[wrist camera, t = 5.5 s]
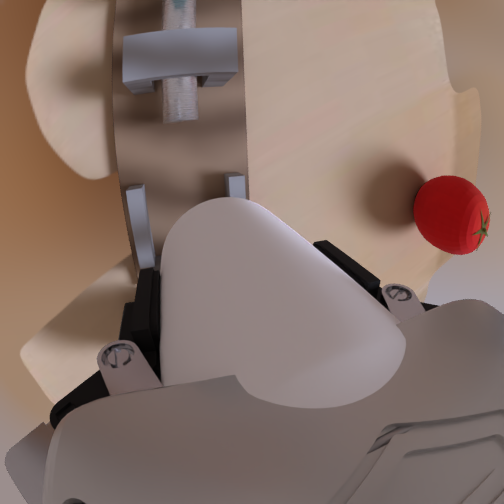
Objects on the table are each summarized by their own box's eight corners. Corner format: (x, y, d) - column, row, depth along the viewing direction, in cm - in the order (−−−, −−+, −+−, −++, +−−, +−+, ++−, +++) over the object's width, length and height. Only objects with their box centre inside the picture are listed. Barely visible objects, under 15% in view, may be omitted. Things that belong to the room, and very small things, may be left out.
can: (177, 320, 15) (220, 543, 4) (148, 208, 12) (107, 502, 2) (286, 295, 16) (411, 469, 6) (280, 185, 14) (515, 329, 3)
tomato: (388, 211, 36) (456, 245, 25) (421, 154, 34) (490, 172, 23) (419, 246, 41) (475, 280, 30) (447, 196, 39) (505, 219, 28)
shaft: (155, -18, 16) (154, -58, 9) (203, -21, 17) (216, -61, 10) (153, 126, 23) (146, 121, 16) (206, 120, 24) (219, 113, 17)
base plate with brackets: (120, -12, 16) (109, -47, 9) (237, -20, 19) (258, -55, 12) (141, 284, 31) (136, 325, 24) (249, 267, 34) (271, 303, 27)
